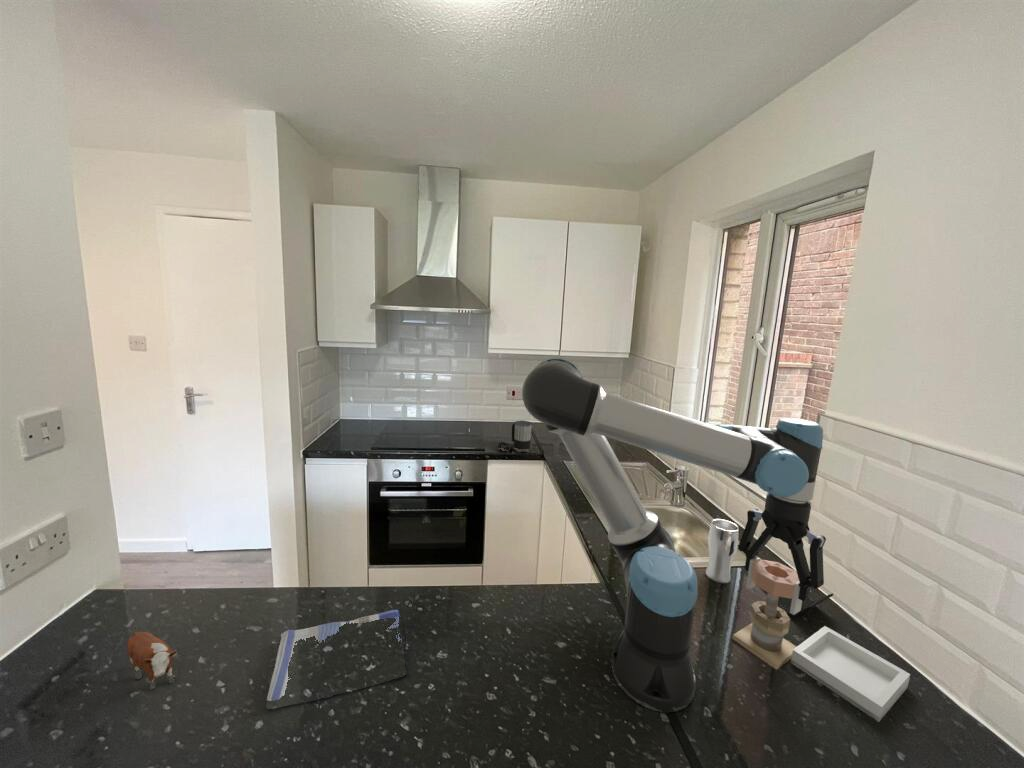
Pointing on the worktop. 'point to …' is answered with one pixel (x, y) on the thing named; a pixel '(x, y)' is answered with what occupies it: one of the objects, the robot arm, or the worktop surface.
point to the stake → (766, 639)
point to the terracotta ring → (774, 578)
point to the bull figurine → (150, 654)
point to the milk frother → (520, 435)
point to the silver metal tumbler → (721, 549)
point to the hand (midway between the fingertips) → (772, 598)
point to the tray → (851, 671)
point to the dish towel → (320, 634)
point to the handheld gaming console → (806, 605)
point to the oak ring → (769, 620)
